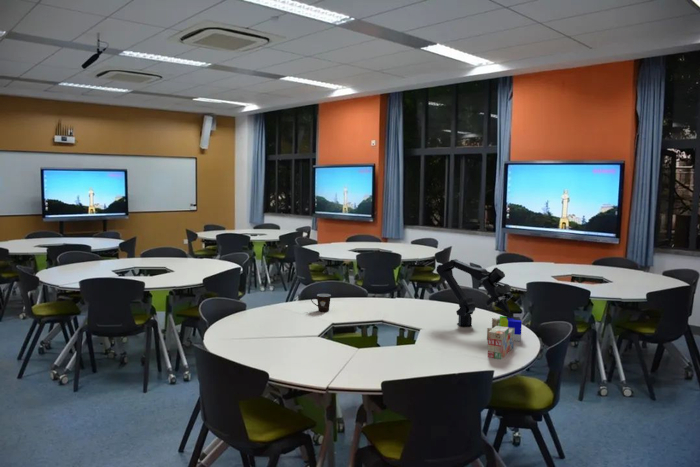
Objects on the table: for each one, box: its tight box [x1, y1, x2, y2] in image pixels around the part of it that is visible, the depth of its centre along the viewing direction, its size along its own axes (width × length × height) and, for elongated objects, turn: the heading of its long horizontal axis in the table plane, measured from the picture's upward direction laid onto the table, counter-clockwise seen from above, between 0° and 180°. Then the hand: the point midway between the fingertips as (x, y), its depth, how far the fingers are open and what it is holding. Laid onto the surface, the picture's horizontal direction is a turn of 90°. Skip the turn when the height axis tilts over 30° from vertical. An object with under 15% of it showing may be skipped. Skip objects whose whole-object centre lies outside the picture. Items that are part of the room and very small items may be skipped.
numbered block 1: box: [491, 317, 500, 328], centre depth 289 cm, size 5×5×6 cm
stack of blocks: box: [487, 326, 514, 360], centre depth 249 cm, size 21×6×12 cm, turn 148°
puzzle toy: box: [499, 315, 523, 342], centre depth 274 cm, size 10×10×10 cm
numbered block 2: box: [486, 327, 493, 341], centre depth 268 cm, size 5×5×6 cm
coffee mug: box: [310, 293, 332, 313], centre depth 328 cm, size 12×9×10 cm
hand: (509, 312), depth 276 cm, fingers closed
